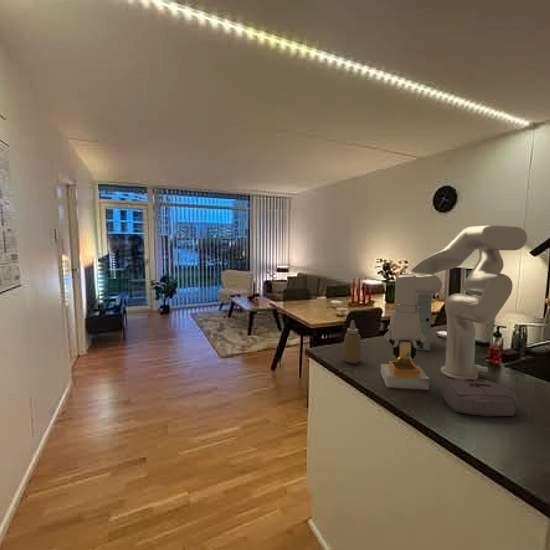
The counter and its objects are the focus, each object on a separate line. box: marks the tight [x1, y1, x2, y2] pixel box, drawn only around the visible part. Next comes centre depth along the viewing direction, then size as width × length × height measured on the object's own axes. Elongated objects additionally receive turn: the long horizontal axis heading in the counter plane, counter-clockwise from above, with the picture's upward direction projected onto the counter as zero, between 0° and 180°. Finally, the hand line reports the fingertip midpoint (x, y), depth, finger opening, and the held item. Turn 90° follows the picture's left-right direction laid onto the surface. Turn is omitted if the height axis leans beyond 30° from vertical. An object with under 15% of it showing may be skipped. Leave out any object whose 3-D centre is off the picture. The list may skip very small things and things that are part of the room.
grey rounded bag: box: [440, 378, 520, 417], centre depth 96 cm, size 15×8×20 cm
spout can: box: [396, 340, 412, 364], centre depth 114 cm, size 6×5×9 cm
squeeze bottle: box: [342, 320, 363, 364], centre depth 134 cm, size 8×8×18 cm
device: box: [416, 294, 433, 352], centre depth 155 cm, size 16×8×30 cm, turn 164°
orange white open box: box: [380, 360, 430, 391], centre depth 114 cm, size 14×12×6 cm
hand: (404, 356), depth 114 cm, fingers closed on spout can, 4 cm apart
